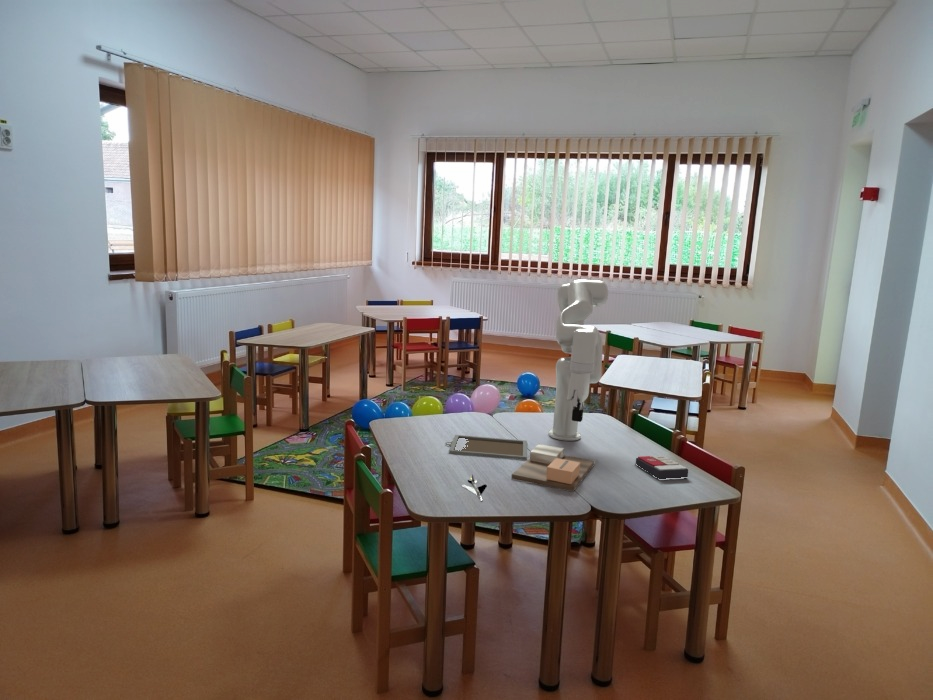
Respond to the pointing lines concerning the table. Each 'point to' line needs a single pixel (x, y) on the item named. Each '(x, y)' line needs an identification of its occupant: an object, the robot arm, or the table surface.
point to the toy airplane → (476, 488)
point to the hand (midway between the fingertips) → (576, 420)
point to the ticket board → (541, 459)
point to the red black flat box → (662, 467)
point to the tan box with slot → (563, 471)
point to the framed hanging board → (491, 447)
